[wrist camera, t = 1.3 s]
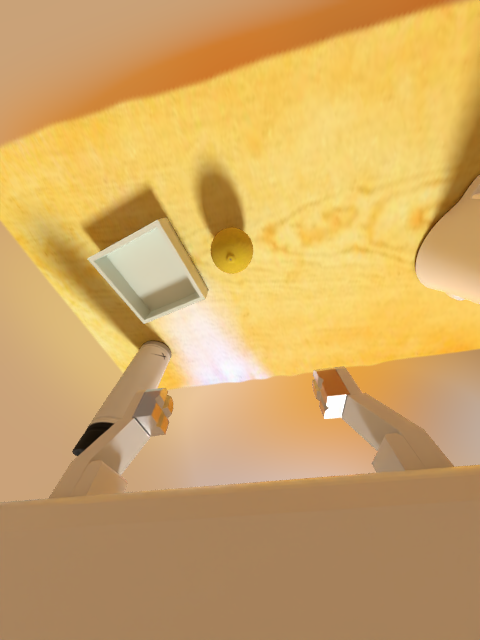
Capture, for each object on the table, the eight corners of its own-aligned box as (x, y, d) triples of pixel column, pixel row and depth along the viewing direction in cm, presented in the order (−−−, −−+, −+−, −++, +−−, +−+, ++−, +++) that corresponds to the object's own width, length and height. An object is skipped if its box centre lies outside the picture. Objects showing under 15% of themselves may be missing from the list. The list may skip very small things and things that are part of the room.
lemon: (207, 245, 28) (196, 260, 22) (231, 214, 26) (228, 220, 19) (234, 270, 30) (232, 290, 24) (259, 243, 28) (265, 258, 21)
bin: (166, 217, 26) (157, 219, 23) (208, 289, 32) (205, 299, 29) (102, 252, 29) (87, 258, 26) (151, 313, 35) (143, 324, 32)
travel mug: (170, 340, 39) (116, 451, 22) (172, 363, 42) (127, 472, 25) (139, 337, 38) (59, 447, 21) (143, 360, 42) (78, 470, 25)
